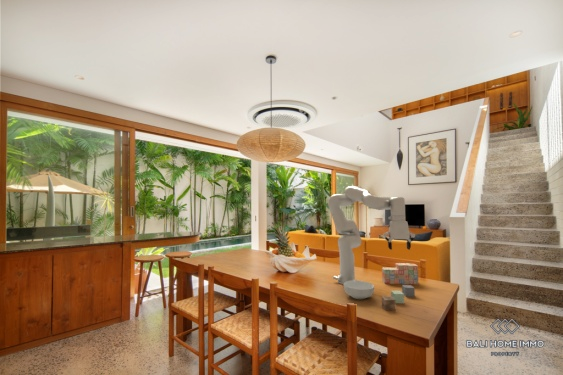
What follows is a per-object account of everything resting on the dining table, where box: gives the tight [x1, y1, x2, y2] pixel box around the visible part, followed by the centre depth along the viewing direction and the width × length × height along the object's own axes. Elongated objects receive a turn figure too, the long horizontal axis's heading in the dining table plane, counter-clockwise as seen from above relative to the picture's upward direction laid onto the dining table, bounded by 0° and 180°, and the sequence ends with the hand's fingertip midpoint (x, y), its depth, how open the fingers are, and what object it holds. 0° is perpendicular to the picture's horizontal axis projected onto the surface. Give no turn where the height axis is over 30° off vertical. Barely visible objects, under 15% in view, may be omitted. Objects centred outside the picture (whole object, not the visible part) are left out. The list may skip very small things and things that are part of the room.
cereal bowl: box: [343, 279, 375, 300], centre depth 152 cm, size 17×17×7 cm
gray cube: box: [401, 284, 416, 298], centre depth 154 cm, size 5×5×5 cm
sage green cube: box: [390, 290, 405, 304], centre depth 144 cm, size 5×5×5 cm
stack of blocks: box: [381, 262, 419, 285], centre depth 178 cm, size 21×6×12 cm, turn 84°
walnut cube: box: [381, 296, 396, 311], centre depth 136 cm, size 5×5×5 cm
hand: (399, 249), depth 150 cm, fingers open, 9 cm apart
